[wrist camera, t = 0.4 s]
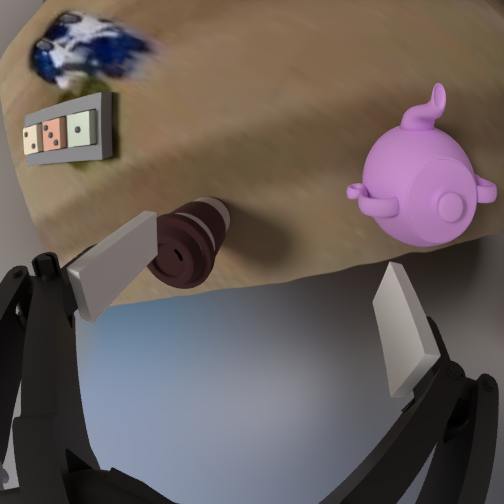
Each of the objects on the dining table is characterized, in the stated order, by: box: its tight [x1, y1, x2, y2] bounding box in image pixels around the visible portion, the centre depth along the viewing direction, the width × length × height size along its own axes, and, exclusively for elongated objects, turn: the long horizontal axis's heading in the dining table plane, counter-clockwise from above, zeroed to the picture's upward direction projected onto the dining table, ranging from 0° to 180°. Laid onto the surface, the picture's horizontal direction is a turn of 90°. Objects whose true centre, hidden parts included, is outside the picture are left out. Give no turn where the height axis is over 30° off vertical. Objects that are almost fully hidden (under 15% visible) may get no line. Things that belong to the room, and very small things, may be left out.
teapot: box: [346, 83, 497, 247], centre depth 28 cm, size 22×22×14 cm
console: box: [25, 92, 113, 166], centre depth 40 cm, size 12×26×3 cm, turn 87°
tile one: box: [67, 110, 97, 147], centre depth 38 cm, size 6×6×3 cm
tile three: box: [42, 117, 67, 151], centre depth 39 cm, size 6×6×3 cm
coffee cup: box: [147, 197, 230, 289], centre depth 38 cm, size 10×10×15 cm
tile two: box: [23, 123, 44, 155], centre depth 40 cm, size 6×6×3 cm
